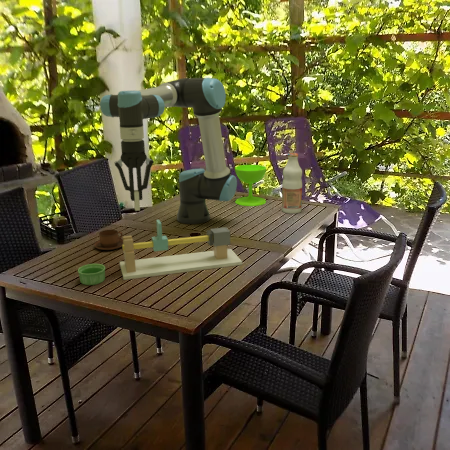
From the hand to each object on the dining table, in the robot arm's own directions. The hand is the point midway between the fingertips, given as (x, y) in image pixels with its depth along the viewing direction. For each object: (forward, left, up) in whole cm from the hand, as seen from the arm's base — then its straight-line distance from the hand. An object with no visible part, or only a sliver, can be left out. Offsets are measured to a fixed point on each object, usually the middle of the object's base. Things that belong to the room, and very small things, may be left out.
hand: (137, 209), depth 172 cm
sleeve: (0, +7, -15) cm, 17 cm away
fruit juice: (-50, +79, -22) cm, 96 cm away
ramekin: (+4, -17, -22) cm, 28 cm away
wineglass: (-73, +66, -22) cm, 101 cm away
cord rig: (0, +14, -22) cm, 26 cm away
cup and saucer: (-28, -9, -23) cm, 37 cm away
